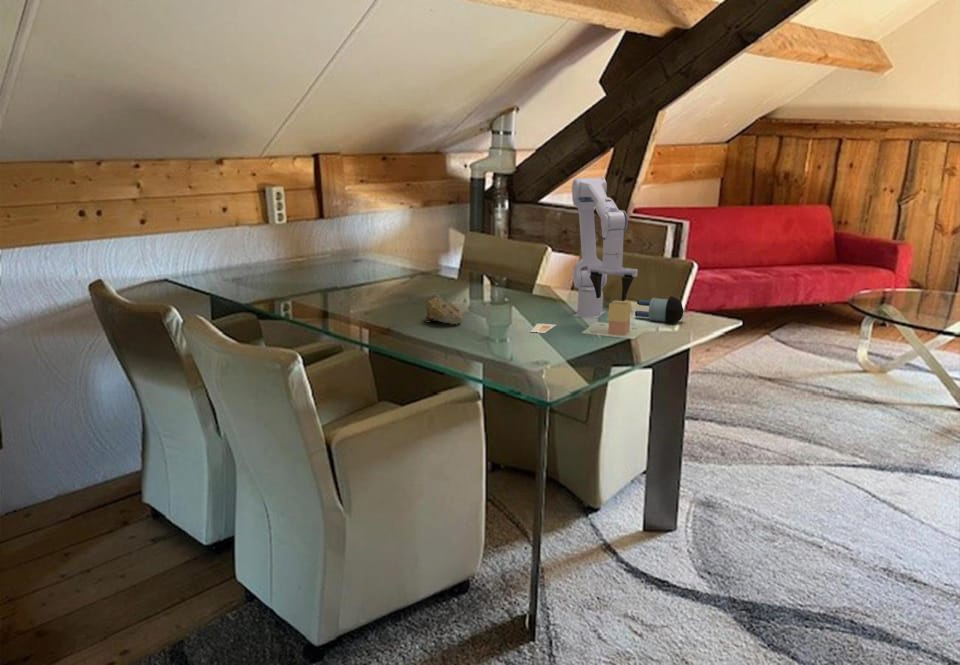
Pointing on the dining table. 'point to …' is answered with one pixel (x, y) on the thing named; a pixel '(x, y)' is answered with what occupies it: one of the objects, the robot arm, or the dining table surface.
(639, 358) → the dining table surface
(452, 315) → the seashell
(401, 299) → the dining table surface
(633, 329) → the plate
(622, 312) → the ochre brick
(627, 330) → the terracotta brick
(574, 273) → the robot arm
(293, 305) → the dining table surface
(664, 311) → the toy
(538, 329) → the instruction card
